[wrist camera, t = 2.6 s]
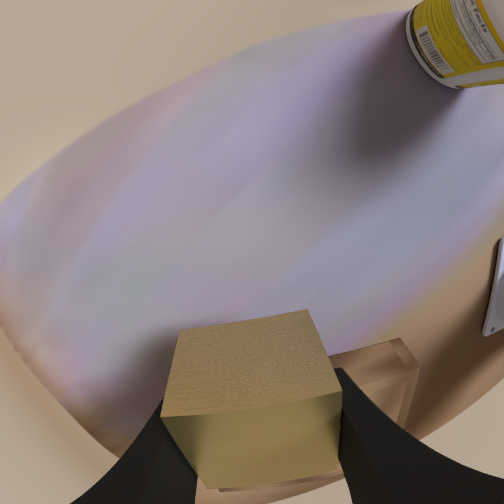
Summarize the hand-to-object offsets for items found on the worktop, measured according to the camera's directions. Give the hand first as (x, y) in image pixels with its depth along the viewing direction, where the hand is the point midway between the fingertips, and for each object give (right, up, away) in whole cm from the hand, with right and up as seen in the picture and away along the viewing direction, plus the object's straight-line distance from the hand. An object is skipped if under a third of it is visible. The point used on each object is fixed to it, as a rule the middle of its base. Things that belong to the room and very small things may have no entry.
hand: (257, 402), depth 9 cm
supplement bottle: (+10, +17, +2) cm, 20 cm away
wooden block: (0, +1, +2) cm, 2 cm away
